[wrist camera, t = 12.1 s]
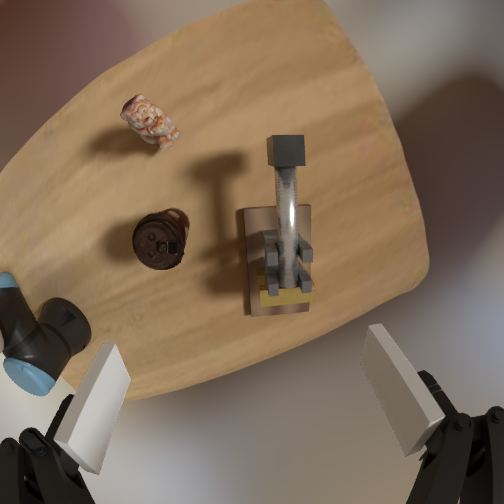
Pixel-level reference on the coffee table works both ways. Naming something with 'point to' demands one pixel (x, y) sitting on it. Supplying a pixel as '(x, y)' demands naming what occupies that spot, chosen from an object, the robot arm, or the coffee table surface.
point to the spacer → (281, 292)
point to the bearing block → (275, 256)
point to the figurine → (149, 122)
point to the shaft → (286, 201)
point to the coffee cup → (161, 239)
